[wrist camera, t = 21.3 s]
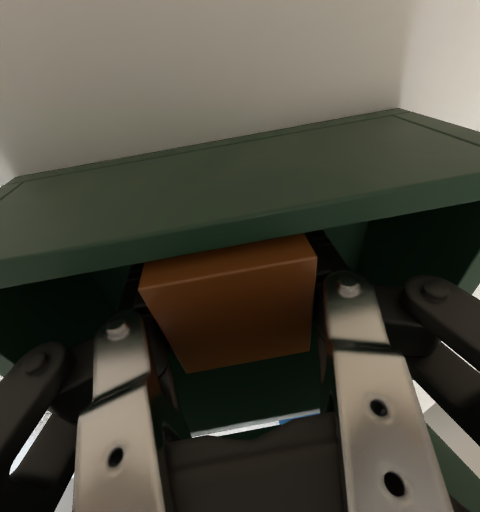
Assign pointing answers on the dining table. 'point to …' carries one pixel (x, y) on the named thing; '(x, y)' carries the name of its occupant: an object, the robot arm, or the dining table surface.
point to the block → (234, 302)
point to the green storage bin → (239, 236)
